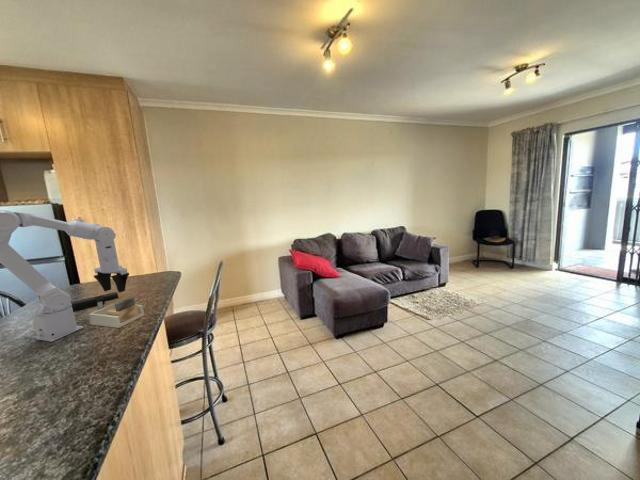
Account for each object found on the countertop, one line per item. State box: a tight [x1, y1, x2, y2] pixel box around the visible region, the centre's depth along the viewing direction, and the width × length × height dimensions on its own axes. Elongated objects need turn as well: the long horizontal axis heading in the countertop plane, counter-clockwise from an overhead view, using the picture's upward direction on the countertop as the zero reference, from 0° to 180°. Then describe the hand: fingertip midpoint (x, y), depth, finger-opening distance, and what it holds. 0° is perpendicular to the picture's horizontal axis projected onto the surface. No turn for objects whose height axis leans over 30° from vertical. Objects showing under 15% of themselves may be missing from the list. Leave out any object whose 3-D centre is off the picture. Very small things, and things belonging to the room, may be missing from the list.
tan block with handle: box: [106, 297, 139, 323], centre depth 99 cm, size 7×6×7 cm
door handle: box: [71, 291, 119, 313], centre depth 115 cm, size 3×20×16 cm
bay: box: [87, 302, 145, 329], centre depth 101 cm, size 10×14×4 cm
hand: (114, 291), depth 105 cm, fingers open, 7 cm apart
